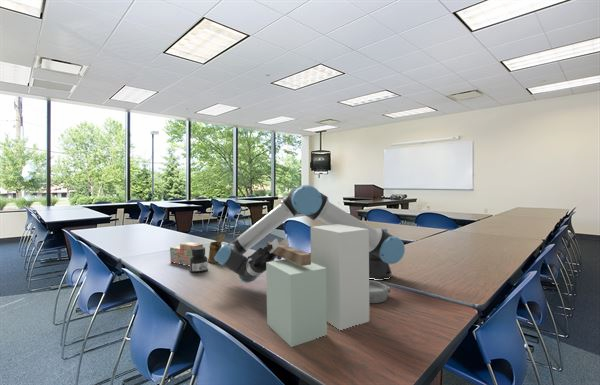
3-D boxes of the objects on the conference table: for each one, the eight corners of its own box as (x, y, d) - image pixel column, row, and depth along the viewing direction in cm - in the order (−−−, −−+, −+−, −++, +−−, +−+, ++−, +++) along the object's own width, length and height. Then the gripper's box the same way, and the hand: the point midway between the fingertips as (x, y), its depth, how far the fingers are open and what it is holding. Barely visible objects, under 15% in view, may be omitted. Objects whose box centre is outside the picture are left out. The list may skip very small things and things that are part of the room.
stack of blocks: (170, 263, 175) (169, 242, 175) (179, 260, 181) (178, 240, 180) (194, 267, 164) (194, 245, 164) (203, 265, 170) (203, 243, 169)
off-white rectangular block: (311, 312, 104) (310, 226, 104) (338, 304, 110) (337, 224, 110) (340, 330, 91) (339, 232, 90) (369, 321, 97) (368, 229, 96)
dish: (368, 307, 108) (368, 293, 108) (345, 295, 121) (345, 282, 120) (397, 299, 115) (397, 287, 115) (373, 289, 127) (373, 277, 127)
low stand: (267, 324, 96) (266, 262, 95) (299, 315, 102) (298, 257, 101) (291, 347, 82) (290, 274, 81) (326, 335, 88) (326, 268, 88)
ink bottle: (193, 274, 151) (192, 251, 151) (186, 271, 158) (186, 248, 157) (211, 270, 158) (210, 248, 157) (204, 267, 164) (203, 245, 164)
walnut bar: (266, 250, 105) (266, 242, 105) (274, 249, 107) (274, 241, 107) (302, 265, 85) (301, 255, 85) (310, 264, 86) (310, 254, 86)
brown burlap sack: (215, 265, 168) (214, 233, 167) (205, 261, 178) (204, 231, 178) (229, 262, 173) (229, 232, 173) (219, 258, 184) (218, 229, 183)
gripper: (279, 270, 119) (306, 250, 101) (240, 276, 110) (262, 256, 93) (274, 252, 122) (300, 229, 104) (236, 257, 113) (257, 233, 96)
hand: (282, 242), depth 98 cm, fingers closed on walnut bar, 3 cm apart
